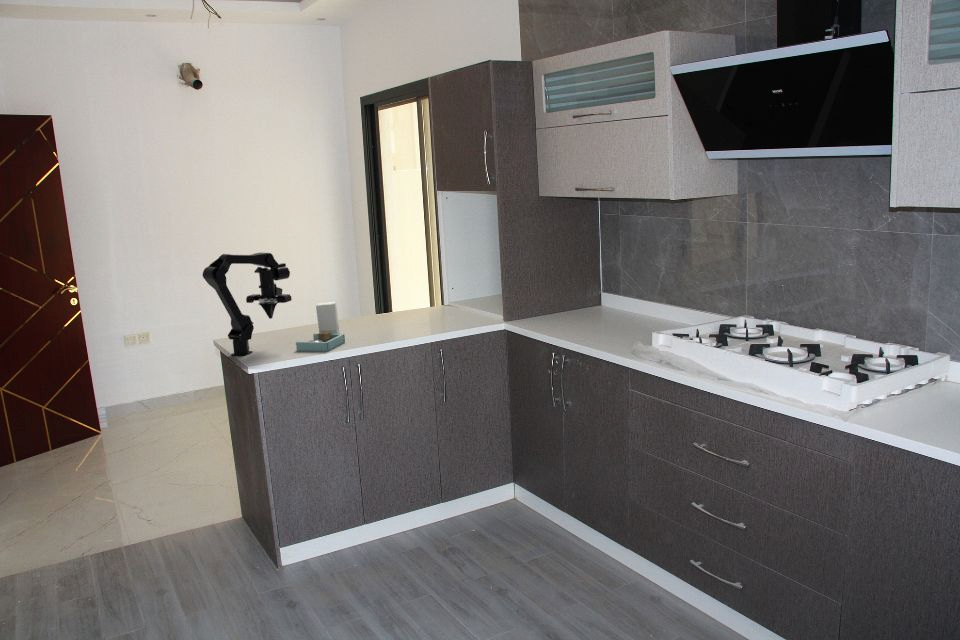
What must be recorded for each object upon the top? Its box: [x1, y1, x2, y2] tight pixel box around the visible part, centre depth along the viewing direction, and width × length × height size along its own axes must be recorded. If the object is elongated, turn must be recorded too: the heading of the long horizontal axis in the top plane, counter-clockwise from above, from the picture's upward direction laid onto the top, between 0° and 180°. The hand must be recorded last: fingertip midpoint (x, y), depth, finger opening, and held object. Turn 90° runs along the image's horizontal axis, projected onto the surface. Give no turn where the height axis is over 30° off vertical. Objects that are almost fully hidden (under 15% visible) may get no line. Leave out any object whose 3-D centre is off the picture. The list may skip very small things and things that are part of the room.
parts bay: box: [295, 333, 346, 352], centre depth 336 cm, size 16×14×4 cm
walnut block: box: [317, 332, 331, 342], centre depth 339 cm, size 4×4×5 cm
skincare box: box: [315, 301, 341, 334], centre depth 351 cm, size 8×7×16 cm
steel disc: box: [307, 339, 323, 342], centre depth 333 cm, size 6×6×3 cm
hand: (270, 318), depth 339 cm, fingers closed
